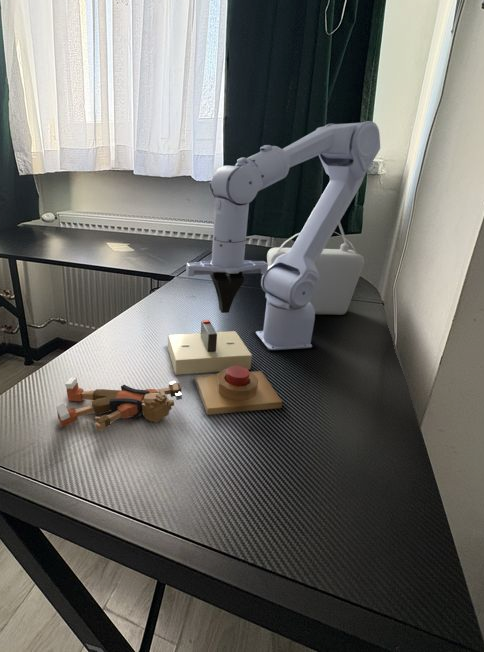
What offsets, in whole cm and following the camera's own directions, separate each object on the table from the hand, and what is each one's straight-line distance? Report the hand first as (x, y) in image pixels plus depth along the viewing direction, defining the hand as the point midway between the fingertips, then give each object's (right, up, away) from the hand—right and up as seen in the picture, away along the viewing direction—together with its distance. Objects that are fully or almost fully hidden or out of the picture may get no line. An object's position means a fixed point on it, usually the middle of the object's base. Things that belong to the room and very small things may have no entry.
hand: (224, 310), depth 71 cm
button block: (+1, -14, -9) cm, 16 cm away
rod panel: (-3, -9, +2) cm, 10 cm away
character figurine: (-17, -15, -13) cm, 27 cm away
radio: (+24, 0, +26) cm, 36 cm away
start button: (+1, -11, -10) cm, 15 cm away
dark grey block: (-3, -6, +1) cm, 7 cm away
